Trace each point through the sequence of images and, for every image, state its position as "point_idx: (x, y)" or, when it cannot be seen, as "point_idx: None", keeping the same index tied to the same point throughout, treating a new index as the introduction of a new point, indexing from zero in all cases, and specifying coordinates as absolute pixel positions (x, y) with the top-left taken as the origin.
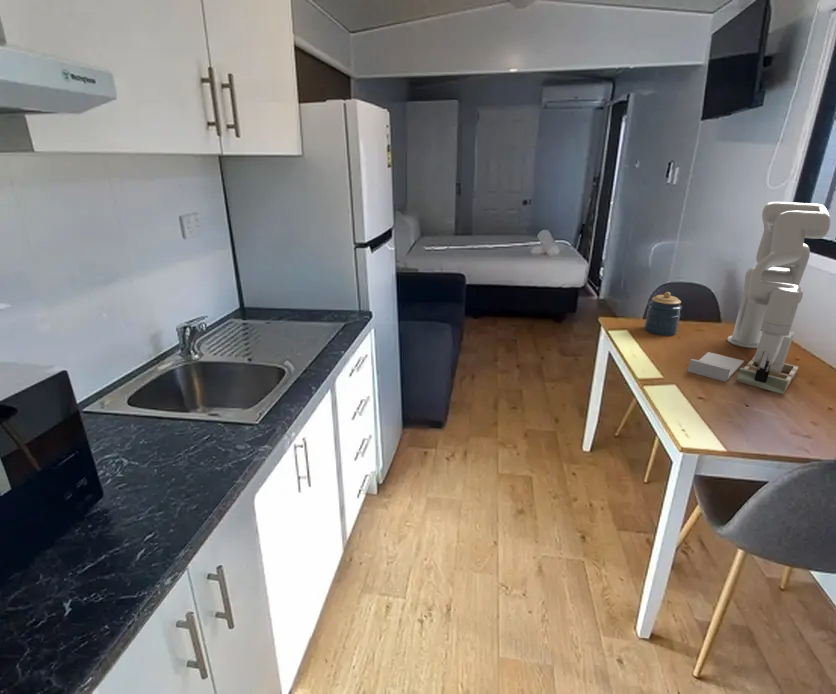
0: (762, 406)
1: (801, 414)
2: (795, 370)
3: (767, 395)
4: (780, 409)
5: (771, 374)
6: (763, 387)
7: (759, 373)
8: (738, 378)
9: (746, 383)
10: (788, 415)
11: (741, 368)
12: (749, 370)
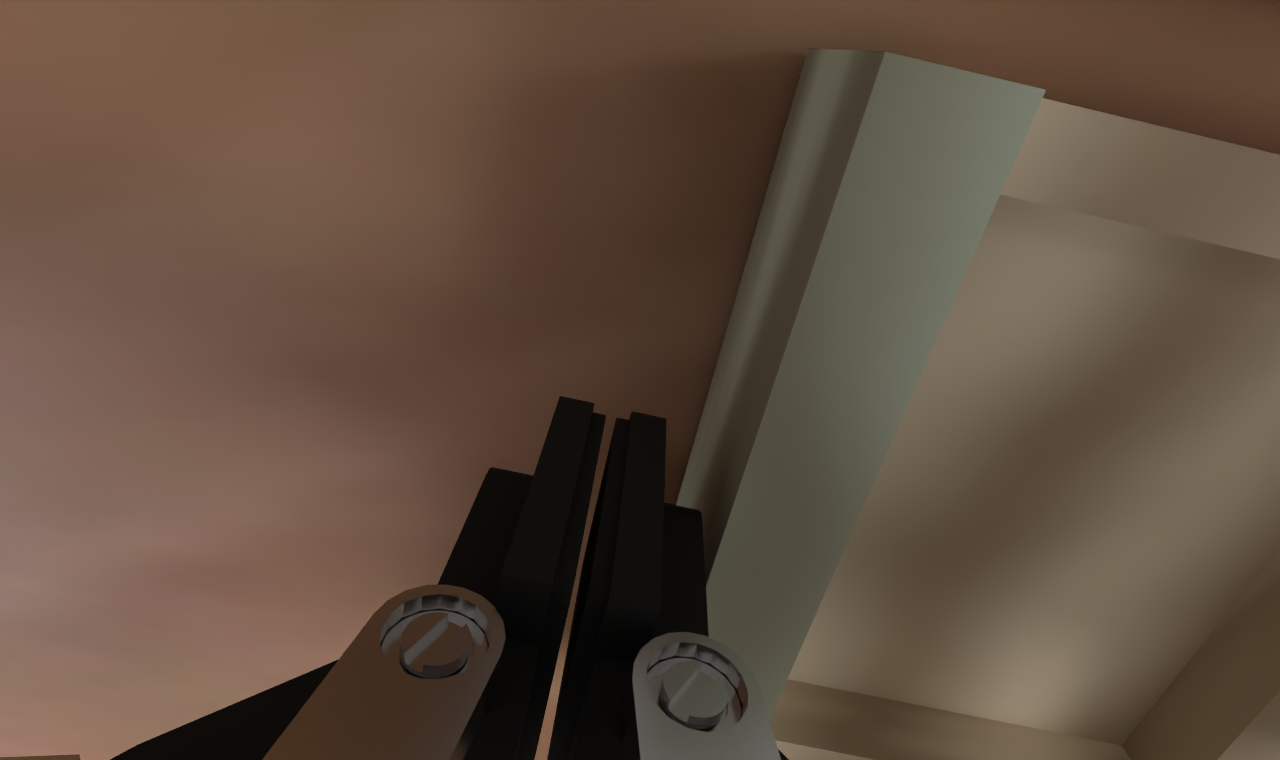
0: (4, 424)
1: (161, 732)
2: None
3: (466, 498)
4: (109, 589)
5: (1262, 627)
6: (685, 477)
7: (451, 568)
8: (810, 85)
9: (753, 241)
10: (13, 639)
11: (969, 118)
12: (884, 334)
